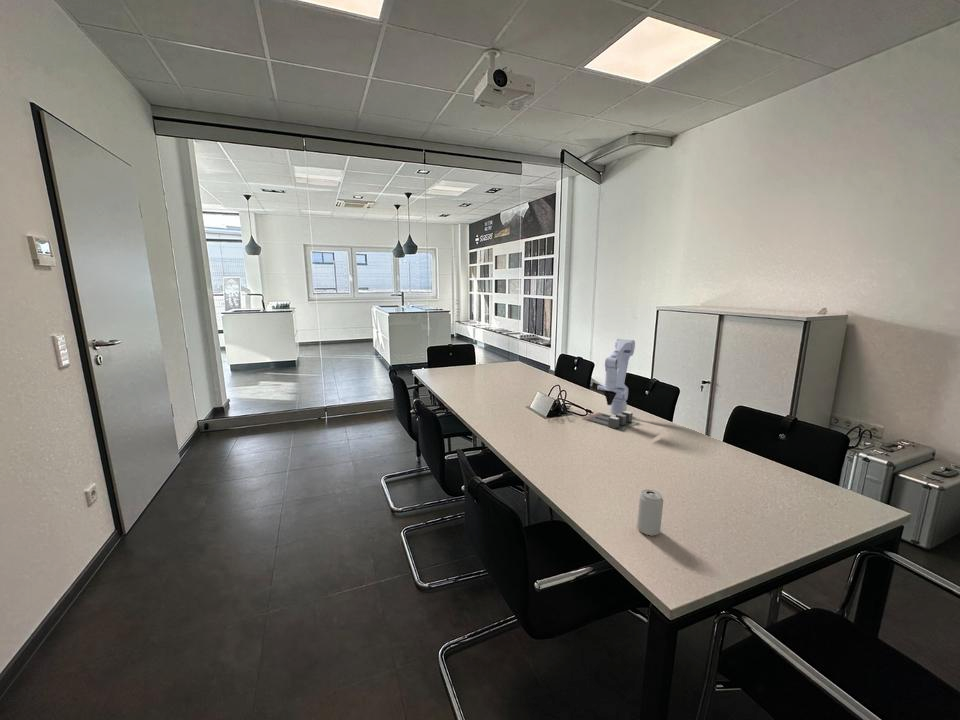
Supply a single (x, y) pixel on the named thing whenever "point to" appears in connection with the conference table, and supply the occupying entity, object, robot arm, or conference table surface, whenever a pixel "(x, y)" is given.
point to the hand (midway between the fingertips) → (609, 404)
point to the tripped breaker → (621, 419)
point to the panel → (604, 420)
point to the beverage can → (650, 512)
